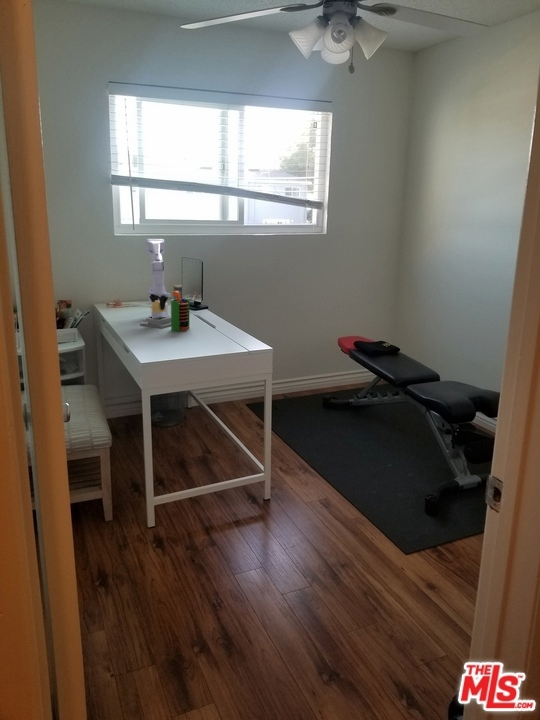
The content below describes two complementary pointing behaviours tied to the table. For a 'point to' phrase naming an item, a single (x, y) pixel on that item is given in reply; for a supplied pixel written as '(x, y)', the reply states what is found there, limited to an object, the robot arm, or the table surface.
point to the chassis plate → (158, 322)
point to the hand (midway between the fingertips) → (159, 309)
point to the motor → (179, 313)
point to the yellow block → (157, 307)
